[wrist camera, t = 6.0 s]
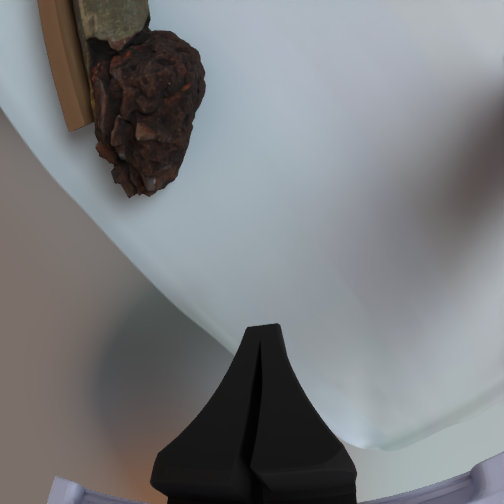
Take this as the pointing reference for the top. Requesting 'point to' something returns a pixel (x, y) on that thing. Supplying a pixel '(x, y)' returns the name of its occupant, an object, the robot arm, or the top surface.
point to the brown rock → (138, 91)
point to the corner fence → (67, 61)
